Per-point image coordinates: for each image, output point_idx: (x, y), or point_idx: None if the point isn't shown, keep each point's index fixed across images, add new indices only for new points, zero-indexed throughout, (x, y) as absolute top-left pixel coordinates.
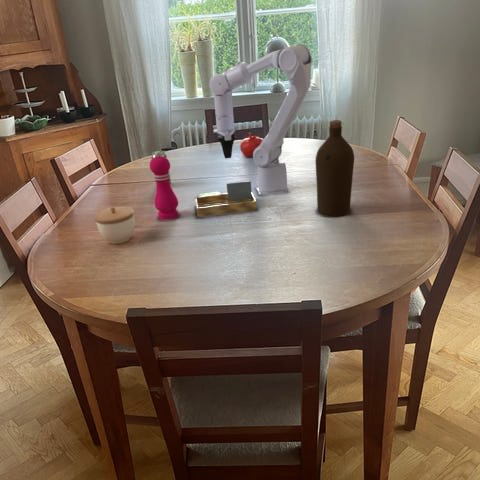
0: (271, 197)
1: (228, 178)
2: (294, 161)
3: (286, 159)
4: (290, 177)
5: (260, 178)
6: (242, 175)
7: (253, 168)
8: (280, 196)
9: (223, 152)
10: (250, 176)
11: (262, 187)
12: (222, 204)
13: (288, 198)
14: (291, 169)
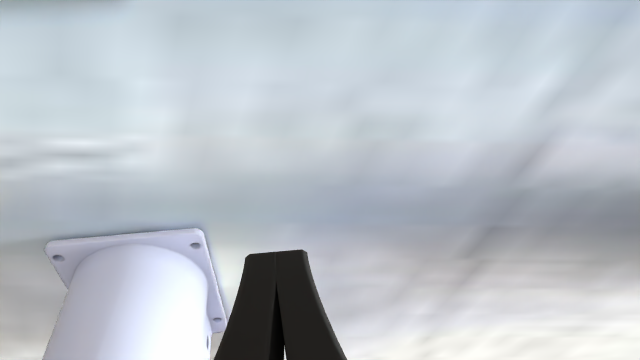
0: (24, 283)
1: (537, 61)
2: (578, 353)
3: (637, 333)
4: (348, 343)
5: (61, 334)
6: (536, 157)
7: (630, 216)
8: (43, 314)
9: (230, 328)
10: (479, 200)
11: (73, 287)
12: None
13: (11, 337)
14: (469, 346)
